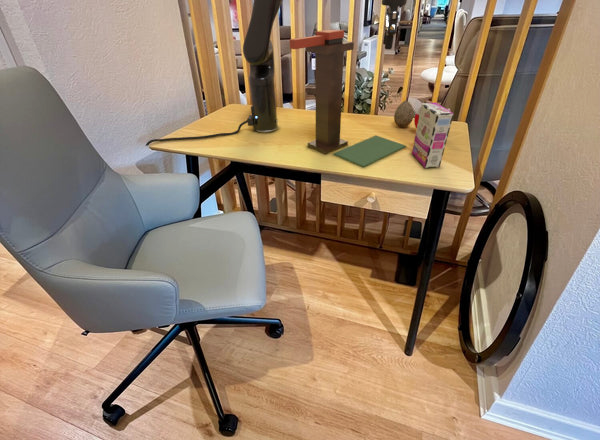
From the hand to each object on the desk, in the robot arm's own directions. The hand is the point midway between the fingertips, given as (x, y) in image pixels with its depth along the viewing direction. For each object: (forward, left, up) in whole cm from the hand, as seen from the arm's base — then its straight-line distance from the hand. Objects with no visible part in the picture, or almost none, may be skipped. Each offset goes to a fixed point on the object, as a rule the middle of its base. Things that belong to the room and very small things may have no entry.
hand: (387, 46), depth 104 cm
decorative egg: (+10, +3, -29) cm, 30 cm away
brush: (-23, -20, +4) cm, 31 cm away
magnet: (+18, -6, -29) cm, 34 cm away
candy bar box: (+12, -27, -29) cm, 41 cm away
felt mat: (-5, -20, -28) cm, 35 cm away
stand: (-19, -16, -28) cm, 38 cm away
